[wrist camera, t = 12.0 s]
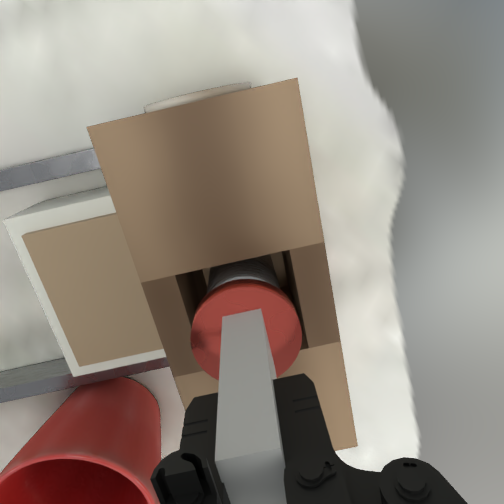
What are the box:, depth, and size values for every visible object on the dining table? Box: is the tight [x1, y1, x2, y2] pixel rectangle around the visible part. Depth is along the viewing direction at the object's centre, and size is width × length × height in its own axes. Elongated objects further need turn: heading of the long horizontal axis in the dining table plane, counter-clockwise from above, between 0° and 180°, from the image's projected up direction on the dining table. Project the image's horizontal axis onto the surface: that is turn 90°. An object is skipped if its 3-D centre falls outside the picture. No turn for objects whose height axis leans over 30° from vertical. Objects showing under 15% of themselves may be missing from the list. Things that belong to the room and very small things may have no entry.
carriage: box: [2, 187, 166, 377], centre depth 26 cm, size 8×11×6 cm
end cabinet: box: [87, 78, 358, 451], centre depth 23 cm, size 8×18×12 cm, turn 12°
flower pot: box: [0, 377, 161, 504], centre depth 29 cm, size 11×11×10 cm
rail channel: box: [0, 148, 169, 403], centre depth 27 cm, size 20×16×4 cm
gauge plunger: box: [190, 254, 302, 381], centre depth 19 cm, size 4×4×8 cm
